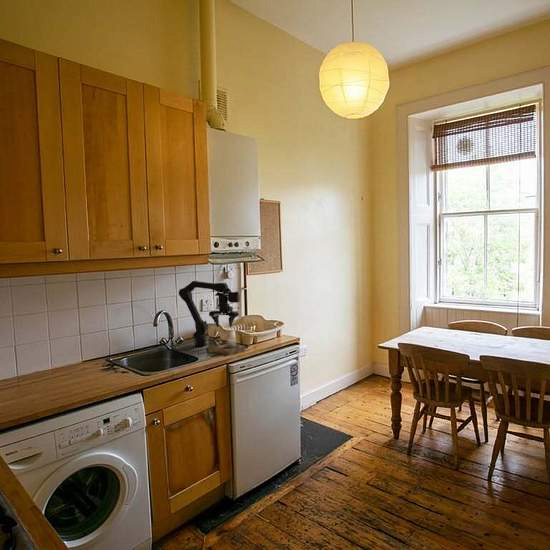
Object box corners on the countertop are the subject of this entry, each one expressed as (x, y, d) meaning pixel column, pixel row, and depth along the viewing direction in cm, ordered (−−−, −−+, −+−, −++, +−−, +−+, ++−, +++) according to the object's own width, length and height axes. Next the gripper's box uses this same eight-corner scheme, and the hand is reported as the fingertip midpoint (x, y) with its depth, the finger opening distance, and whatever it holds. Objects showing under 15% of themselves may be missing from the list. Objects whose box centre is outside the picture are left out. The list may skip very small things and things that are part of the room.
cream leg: (225, 351, 239) (224, 329, 238) (232, 349, 242) (231, 328, 241) (230, 353, 235) (229, 331, 234) (237, 351, 238) (237, 329, 237)
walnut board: (228, 355, 230) (228, 350, 230) (214, 352, 239) (214, 347, 239) (245, 350, 240) (245, 346, 239) (231, 347, 248) (231, 342, 248)
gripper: (242, 301, 255) (243, 325, 256) (217, 300, 263) (218, 324, 264) (233, 303, 245) (234, 328, 246) (207, 303, 252) (209, 327, 254)
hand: (224, 327), depth 253 cm, fingers open, 9 cm apart
